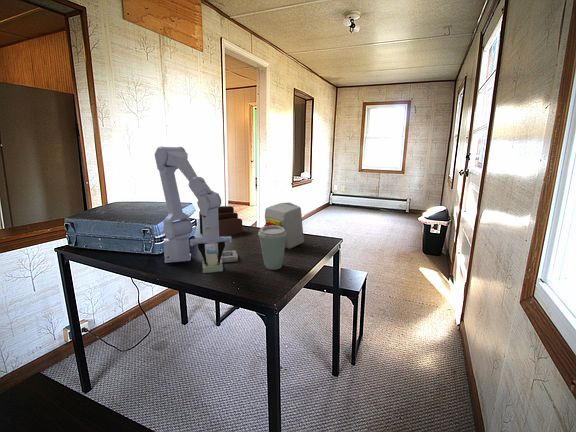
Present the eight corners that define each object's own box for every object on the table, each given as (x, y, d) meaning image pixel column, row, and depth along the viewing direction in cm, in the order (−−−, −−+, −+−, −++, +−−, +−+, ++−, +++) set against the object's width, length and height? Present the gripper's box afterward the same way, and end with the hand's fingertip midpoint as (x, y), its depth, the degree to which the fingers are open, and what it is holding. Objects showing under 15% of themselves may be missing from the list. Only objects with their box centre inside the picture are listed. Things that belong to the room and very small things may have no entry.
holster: (202, 273, 106) (202, 267, 106) (202, 265, 113) (202, 261, 112) (222, 271, 108) (222, 265, 108) (221, 264, 115) (221, 259, 114)
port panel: (206, 264, 114) (206, 258, 114) (206, 257, 122) (205, 251, 121) (237, 261, 118) (237, 255, 117) (235, 254, 125) (235, 249, 125)
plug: (207, 270, 108) (206, 252, 107) (207, 267, 112) (206, 249, 110) (217, 269, 109) (216, 251, 108) (217, 266, 112) (216, 248, 111)
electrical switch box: (260, 248, 140) (254, 208, 134) (284, 238, 149) (279, 200, 143) (280, 256, 130) (275, 213, 124) (304, 245, 139) (300, 204, 133)
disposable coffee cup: (292, 268, 111) (292, 229, 108) (265, 274, 106) (265, 233, 102) (278, 259, 120) (278, 223, 117) (254, 264, 115) (253, 226, 111)
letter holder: (199, 235, 154) (198, 208, 151) (233, 229, 167) (232, 204, 164) (208, 239, 147) (206, 211, 144) (243, 233, 159) (242, 207, 156)
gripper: (189, 230, 101) (191, 268, 104) (232, 228, 105) (233, 264, 108) (189, 225, 108) (191, 261, 111) (230, 223, 112) (231, 257, 115)
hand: (212, 262), depth 110 cm, fingers open, 4 cm apart
